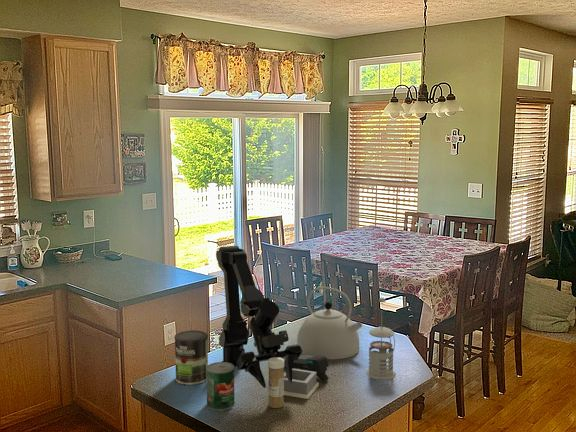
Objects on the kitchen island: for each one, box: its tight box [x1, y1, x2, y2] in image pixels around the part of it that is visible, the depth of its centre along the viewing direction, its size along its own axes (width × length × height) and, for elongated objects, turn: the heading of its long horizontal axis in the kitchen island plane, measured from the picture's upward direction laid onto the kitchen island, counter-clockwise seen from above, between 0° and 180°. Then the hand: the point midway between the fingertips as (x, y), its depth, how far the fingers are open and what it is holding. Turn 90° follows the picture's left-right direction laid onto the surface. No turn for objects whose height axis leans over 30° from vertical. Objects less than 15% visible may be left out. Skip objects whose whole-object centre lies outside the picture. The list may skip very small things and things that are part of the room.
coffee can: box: [174, 329, 209, 386], centre depth 182 cm, size 10×10×14 cm
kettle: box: [296, 286, 363, 360], centre depth 208 cm, size 25×23×22 cm
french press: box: [365, 297, 397, 381], centre depth 186 cm, size 10×12×25 cm
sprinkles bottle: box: [267, 357, 285, 409], centre depth 163 cm, size 5×5×14 cm
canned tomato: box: [206, 361, 236, 411], centre depth 164 cm, size 8×8×11 cm
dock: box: [284, 368, 320, 400], centre depth 174 cm, size 10×10×4 cm
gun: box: [292, 354, 330, 383], centre depth 187 cm, size 4×20×10 cm, turn 42°
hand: (278, 384), depth 162 cm, fingers open, 8 cm apart
